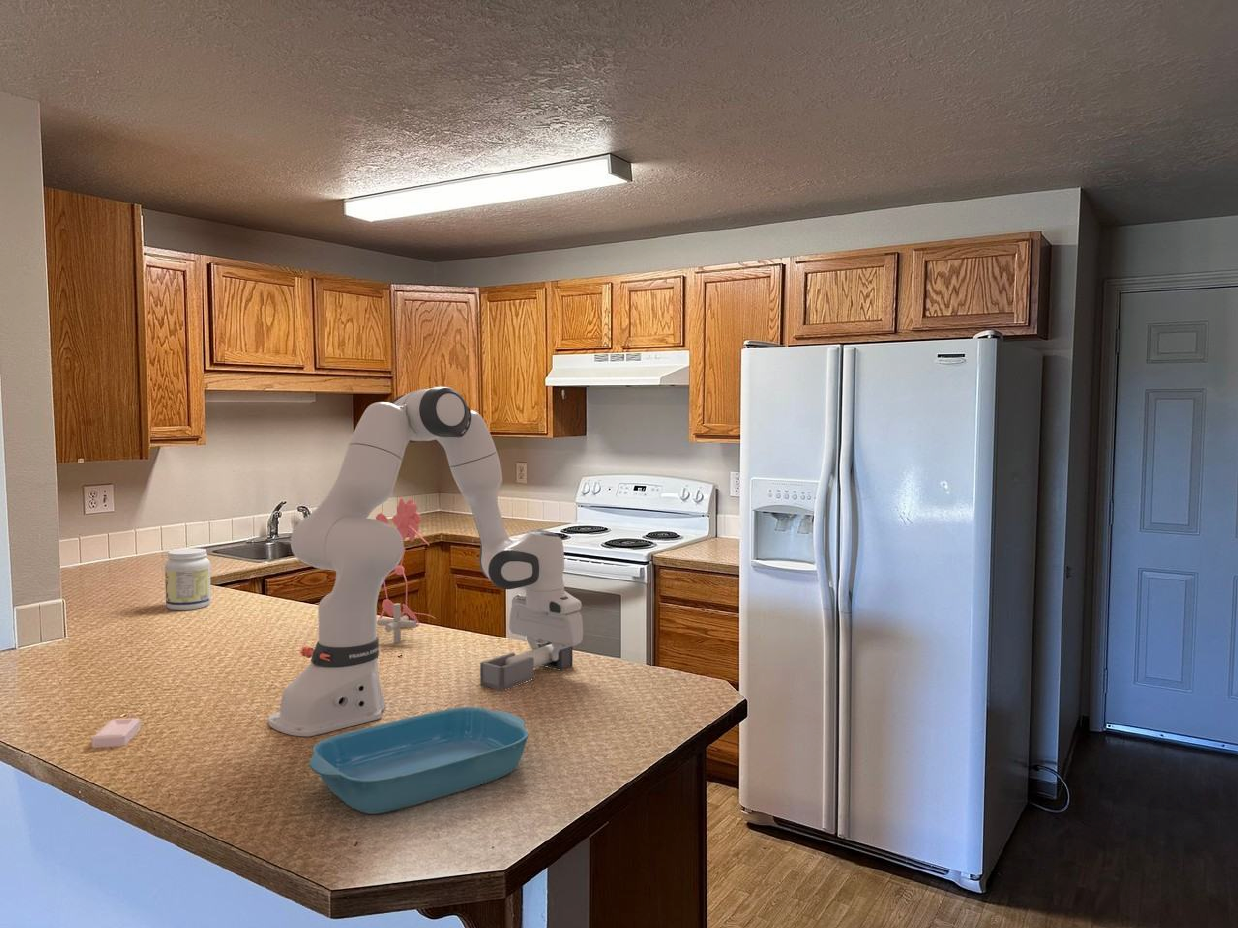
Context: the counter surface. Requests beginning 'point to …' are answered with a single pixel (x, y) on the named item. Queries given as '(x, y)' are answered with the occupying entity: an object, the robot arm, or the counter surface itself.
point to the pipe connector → (397, 623)
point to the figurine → (407, 527)
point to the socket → (560, 656)
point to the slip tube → (534, 656)
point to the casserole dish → (419, 757)
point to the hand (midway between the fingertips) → (545, 658)
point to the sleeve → (505, 672)
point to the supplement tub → (187, 579)
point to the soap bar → (116, 733)
